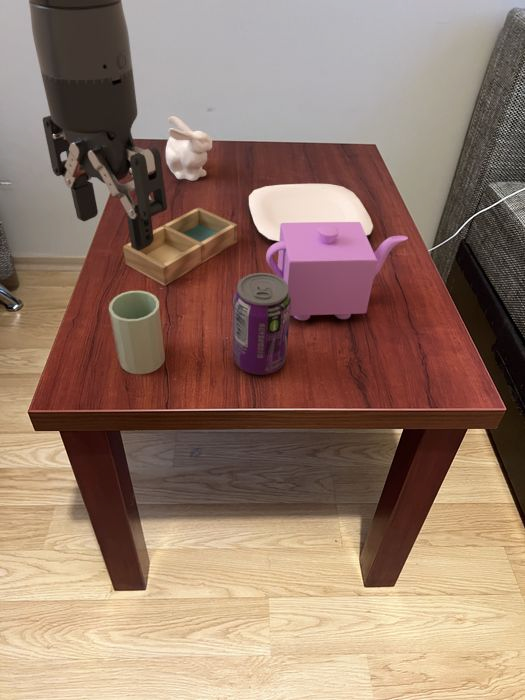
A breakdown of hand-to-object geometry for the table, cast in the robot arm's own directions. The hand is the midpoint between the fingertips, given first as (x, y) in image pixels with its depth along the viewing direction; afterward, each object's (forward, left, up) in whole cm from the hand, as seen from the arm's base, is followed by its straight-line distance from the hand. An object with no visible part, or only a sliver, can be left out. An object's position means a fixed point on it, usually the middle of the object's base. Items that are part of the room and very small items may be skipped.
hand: (114, 231), depth 57 cm
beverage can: (+12, -11, -21) cm, 26 cm away
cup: (+2, +1, -20) cm, 21 cm away
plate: (+48, +6, -21) cm, 53 cm away
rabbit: (+46, +35, -21) cm, 62 cm away
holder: (+24, +15, -20) cm, 35 cm away
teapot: (+29, -11, -21) cm, 37 cm away
